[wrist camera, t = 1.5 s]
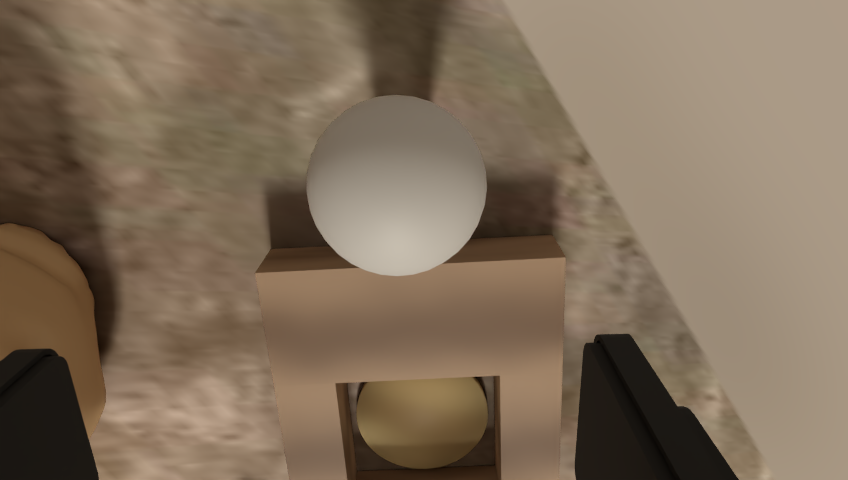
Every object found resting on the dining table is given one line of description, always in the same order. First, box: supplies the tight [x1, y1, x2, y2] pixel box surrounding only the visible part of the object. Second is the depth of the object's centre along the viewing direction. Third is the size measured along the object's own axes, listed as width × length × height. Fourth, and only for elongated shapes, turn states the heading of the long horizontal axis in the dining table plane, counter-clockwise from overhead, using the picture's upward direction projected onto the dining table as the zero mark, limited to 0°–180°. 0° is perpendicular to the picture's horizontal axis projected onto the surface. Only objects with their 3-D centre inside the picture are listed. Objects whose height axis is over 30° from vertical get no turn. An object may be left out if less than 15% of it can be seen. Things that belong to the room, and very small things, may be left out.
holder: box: [255, 235, 566, 480], centre depth 32 cm, size 20×14×3 cm
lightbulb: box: [307, 95, 487, 276], centre depth 23 cm, size 6×6×11 cm
